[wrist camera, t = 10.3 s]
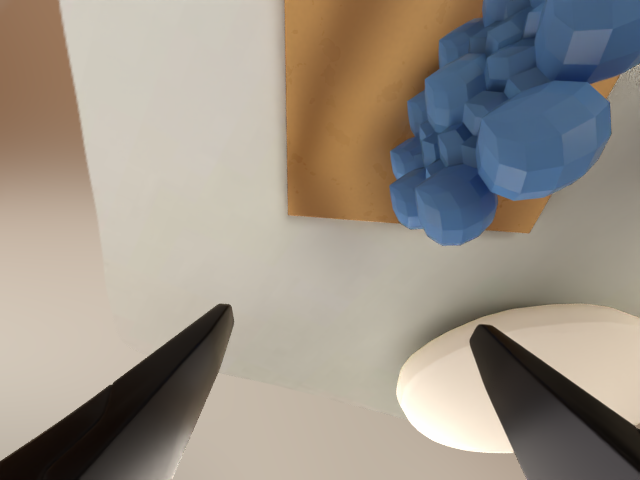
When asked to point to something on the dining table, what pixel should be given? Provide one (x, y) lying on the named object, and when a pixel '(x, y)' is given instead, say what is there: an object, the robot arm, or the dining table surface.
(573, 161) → the grapes
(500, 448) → the plate
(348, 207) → the bamboo board
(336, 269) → the dining table surface
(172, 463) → the robot arm
